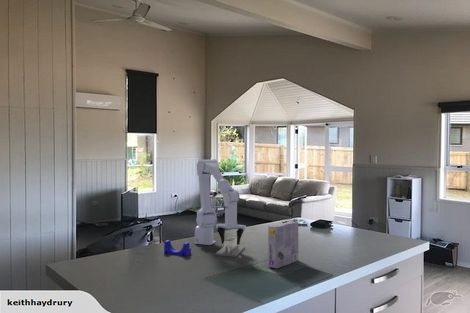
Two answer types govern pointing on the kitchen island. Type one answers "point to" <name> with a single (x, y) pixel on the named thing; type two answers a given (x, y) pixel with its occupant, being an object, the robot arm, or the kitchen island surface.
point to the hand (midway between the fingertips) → (230, 243)
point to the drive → (230, 244)
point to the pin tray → (235, 253)
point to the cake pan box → (282, 244)
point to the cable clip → (170, 250)
